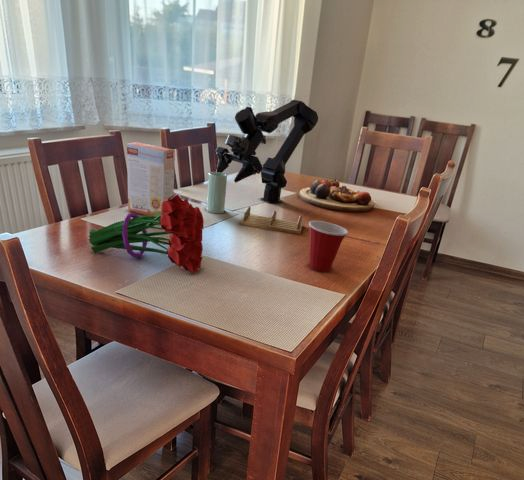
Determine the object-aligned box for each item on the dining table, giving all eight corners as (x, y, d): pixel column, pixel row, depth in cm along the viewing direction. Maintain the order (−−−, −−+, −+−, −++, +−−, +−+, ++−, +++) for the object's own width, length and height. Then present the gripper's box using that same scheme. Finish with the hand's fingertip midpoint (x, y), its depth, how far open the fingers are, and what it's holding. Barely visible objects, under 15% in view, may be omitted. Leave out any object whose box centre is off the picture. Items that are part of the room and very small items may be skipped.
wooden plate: (389, 211, 201) (394, 191, 197) (333, 215, 184) (337, 193, 180) (338, 191, 223) (342, 172, 219) (284, 193, 206) (287, 173, 201)
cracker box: (174, 217, 157) (176, 149, 146) (163, 220, 152) (164, 151, 142) (138, 207, 161) (138, 140, 151) (127, 210, 156) (125, 142, 146)
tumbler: (216, 207, 173) (218, 171, 167) (227, 212, 170) (230, 175, 163) (203, 209, 169) (205, 172, 163) (214, 214, 166) (217, 176, 159)
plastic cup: (346, 275, 131) (355, 233, 125) (309, 275, 128) (318, 231, 122) (330, 260, 140) (338, 220, 134) (296, 260, 136) (303, 218, 130)
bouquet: (111, 262, 135) (213, 260, 128) (80, 283, 120) (193, 282, 114) (93, 190, 125) (201, 183, 119) (57, 204, 111) (178, 197, 105)
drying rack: (246, 216, 168) (247, 205, 166) (302, 226, 167) (304, 214, 164) (241, 224, 159) (242, 212, 157) (300, 234, 158) (302, 222, 156)
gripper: (220, 121, 166) (195, 156, 164) (261, 131, 157) (235, 168, 155) (234, 145, 176) (210, 178, 174) (273, 155, 167) (248, 191, 165)
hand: (225, 178), depth 167 cm, fingers open, 9 cm apart
